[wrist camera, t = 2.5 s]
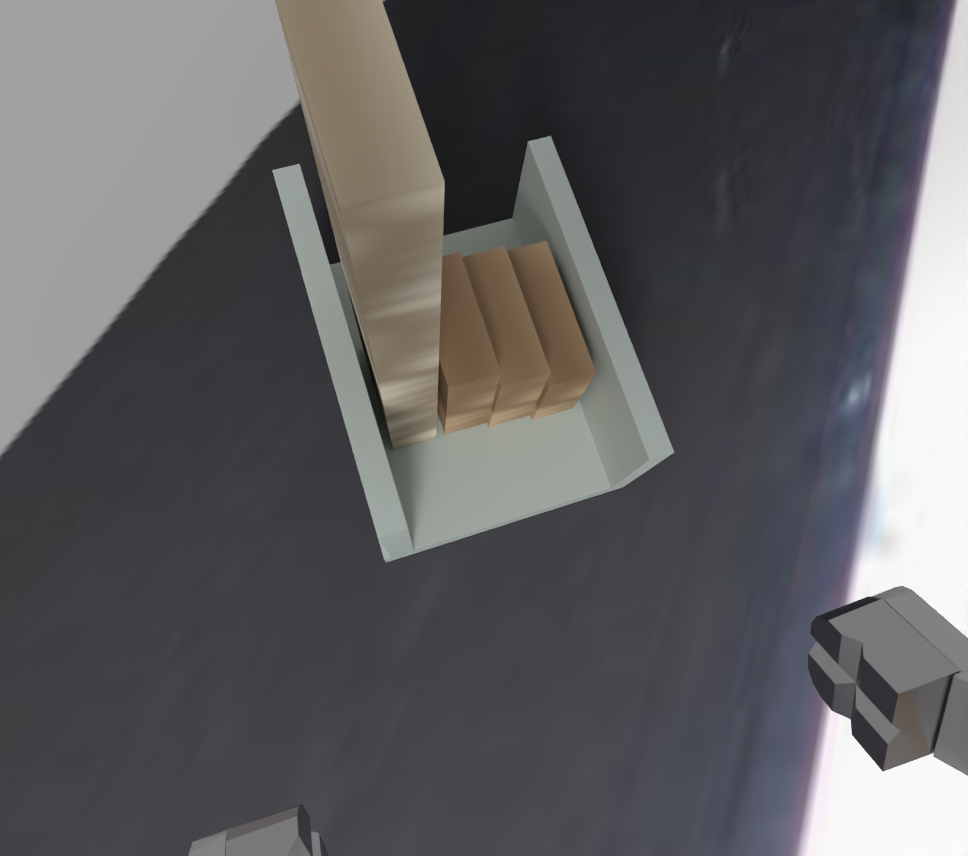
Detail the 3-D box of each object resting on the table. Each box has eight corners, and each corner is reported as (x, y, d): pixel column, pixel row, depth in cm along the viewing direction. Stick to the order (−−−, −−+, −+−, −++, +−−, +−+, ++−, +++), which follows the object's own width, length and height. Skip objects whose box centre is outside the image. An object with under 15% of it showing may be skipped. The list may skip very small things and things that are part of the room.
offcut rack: (527, 228, 38) (558, 103, 28) (623, 487, 35) (692, 439, 25) (306, 286, 36) (264, 172, 27) (386, 562, 33) (369, 540, 24)
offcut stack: (530, 292, 35) (554, 214, 28) (572, 408, 34) (608, 355, 27) (409, 325, 34) (404, 253, 27) (448, 445, 33) (452, 400, 26)
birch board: (404, 337, 34) (370, -31, 15) (436, 437, 33) (444, 181, 14) (362, 349, 34) (272, -11, 14) (393, 450, 33) (340, 207, 13)
